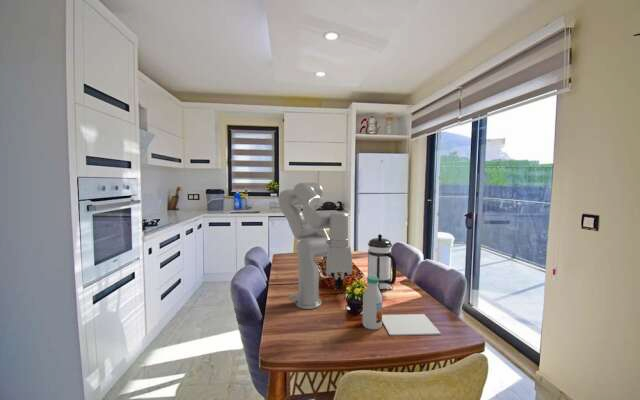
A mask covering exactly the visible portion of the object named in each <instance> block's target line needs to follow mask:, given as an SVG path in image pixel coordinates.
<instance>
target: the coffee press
mask: <svg viewBox="0 0 640 400" xmlns="http://www.w3.org/2000/svg"><path fill="white" fill-rule="evenodd" d="M392 246H393V244H392V242H391V240H389V239H387V238H383V235H382V234H378V236H377V237H375V238H371V239H370V240H369V241H368V242H367V247H368V250H367V278H368V277H370V276H374V277H378V279H379V282H378V283H379V284H378V288H379V290H384V289H387V288H388V289H389V290H390V291H393V289H394V286H393V285H394V284H395V283H396V280H397V279H396V278H397V262H396V258H395V256H394V255H393V253H392Z"/></svg>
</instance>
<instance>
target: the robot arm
mask: <svg viewBox="0 0 640 400" xmlns="http://www.w3.org/2000/svg"><path fill="white" fill-rule="evenodd" d="M323 194H324V189H323V187H322V185H321V184H320V183H318V182H298V183H297V184H295V185H294V187H293V189H292V188H291V189H285V190H281V192H280V193H278V206H279V209H280V211H281V213H282V214H283V215H284V217H285V218H286V220H287V222H288V225H289V228H290V230H291V232H292V235H293V237H294V238H295V240H297V241H298V242H297V243H296V247H295V249H296V256H297V261H298V265H297V266H298V267H297V268H298V293H297V294H295V295H294V294H290V295H289V296H288V300H291V302H293V301H294V305H295V306H296V307H298V308H299V309H303V310H312V309H317V308H319V307H321V306H322V300H321V298H319V266H318V264H317V263H316V261H315V259H317V258H323V257H326V259H325V261H326V262H325V268H326V269H325V274H326V275H330V276H332V278H334V286H335V288H336V289H337V290H342V287H344V278H345V277H346V276H347V275H352V274H353V258H352V257H353V256H352V249H351V246H350V245H349V215H348V213H347V212H345V211H339V210H335V209H334V210H333V209H332V210H331V209H330V210H318V209H319V207H320V206H321V205H322V197H323ZM296 206H303V207H302V211H301V210H300V209H299V208H298V207H296ZM326 229H329V232H328V233H329V235H328V233H327V231H326ZM338 274H340V275H339V276H338Z"/></svg>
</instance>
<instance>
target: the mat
mask: <svg viewBox="0 0 640 400" xmlns="http://www.w3.org/2000/svg"><path fill="white" fill-rule="evenodd" d="M382 325H383V326H384V327H385V329H386V331H387V332H388V335H389V337H390V336H391V337H392V336H424V335H425V336H428V335H432V336H433V335H434V336H435V335H437V336H438V335H442V333H441V332H440V331H439V329H438V328H437V327H436V326H435V325H434V323H433V322H432V321H431V320H430V319H429V318H428V317H427V315H426V314H425V313H423V314H422V313H421V314H420V313H419V314H418V313H417V314H414V313H412V314H411V313H410V314H409V313H408V314H382Z"/></svg>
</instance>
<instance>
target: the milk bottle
mask: <svg viewBox="0 0 640 400" xmlns="http://www.w3.org/2000/svg"><path fill="white" fill-rule="evenodd" d="M378 282H379V279H378V277H374V276H370V277H368V276H367V278H366V286H367V287H365V288H366V289H365V291H364V293H363V297H362V325H363V327H364V328H365V329H368V330H374V331H375V330H379V329H381V328H382V325H383V322H382V315H383V297H382V294H381V293H382V292H381V291H380V289H379V288H378V284H379V283H378Z"/></svg>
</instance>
